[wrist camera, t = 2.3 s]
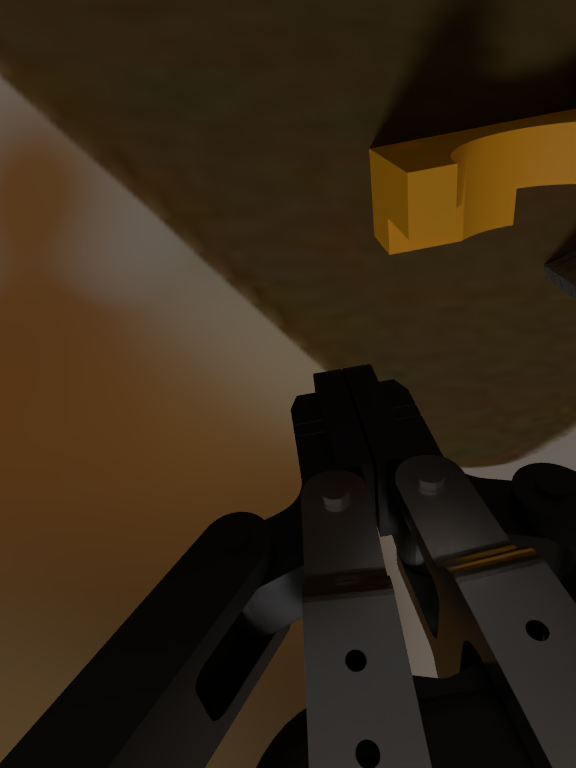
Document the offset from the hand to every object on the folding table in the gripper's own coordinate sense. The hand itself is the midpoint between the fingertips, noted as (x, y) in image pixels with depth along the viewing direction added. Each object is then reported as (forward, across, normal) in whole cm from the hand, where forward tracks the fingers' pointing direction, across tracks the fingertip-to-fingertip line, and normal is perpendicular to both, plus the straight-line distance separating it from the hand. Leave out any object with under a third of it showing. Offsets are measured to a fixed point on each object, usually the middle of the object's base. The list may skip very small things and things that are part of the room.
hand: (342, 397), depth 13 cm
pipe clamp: (+16, -10, -1) cm, 19 cm away
